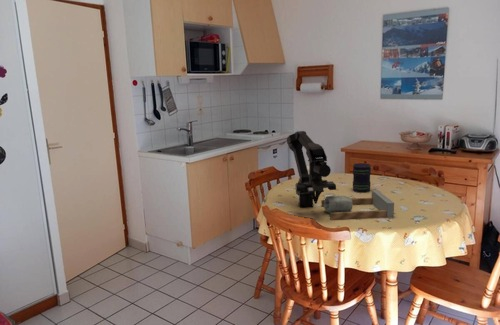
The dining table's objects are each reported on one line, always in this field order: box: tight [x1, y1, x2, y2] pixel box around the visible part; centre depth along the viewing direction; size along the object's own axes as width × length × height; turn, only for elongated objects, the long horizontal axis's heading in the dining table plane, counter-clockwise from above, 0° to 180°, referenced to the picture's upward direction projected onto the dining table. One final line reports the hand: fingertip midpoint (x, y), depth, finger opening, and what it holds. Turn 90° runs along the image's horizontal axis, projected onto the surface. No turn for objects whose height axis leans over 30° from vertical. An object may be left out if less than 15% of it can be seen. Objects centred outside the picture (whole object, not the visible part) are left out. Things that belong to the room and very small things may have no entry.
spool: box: [323, 195, 354, 214], centre depth 186 cm, size 14×10×10 cm
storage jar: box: [352, 163, 372, 194], centre depth 219 cm, size 10×10×15 cm
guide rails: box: [321, 197, 387, 221], centre depth 187 cm, size 26×21×3 cm
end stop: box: [370, 189, 395, 219], centre depth 187 cm, size 3×22×7 cm, turn 1°
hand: (315, 203), depth 186 cm, fingers closed
